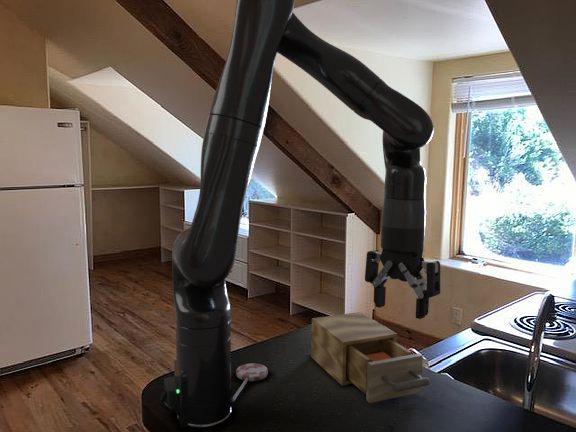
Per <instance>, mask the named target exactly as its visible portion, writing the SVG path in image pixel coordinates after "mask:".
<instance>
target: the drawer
mask: <svg viewBox="0 0 576 432" xmlns="http://www.w3.org/2000/svg"><path fill="white" fill-rule="evenodd" d="M381 352H384V353H386V354H387V355H389V356H390V357H392V358H390V359H385V360H379V361H373V362H370V359H369V358H368V357H366V356H365V355H369V354H375V353H381ZM412 353H413V352H412V351H411V350H409V349H407V348H406V347H405V346H403V345H401V344H399V343H396V342H394V341H393V340H391V339H390V338H389V339H383V340H377V341H370V342H364V343H358V344H351V345H346V378H347V379H349V380H350V381H351V382H352V383H353V384H352V385H354V386H355V387H356V388H358V389H359V391H361V392H362V393H363V394H364V395H366V396H365V397H366V398H365V400H366V402H368V403H369V404H373V403H378V402H382V401H386V400H391V399H396V398H401V397H405V396H409V395H414V394H418V393H419V394H420V393H422V387H427V386H429V385H430V379H429V377H423V362H424V361H423V359H424V356H423V355H422V354H420V353H413V354H412Z"/></svg>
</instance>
